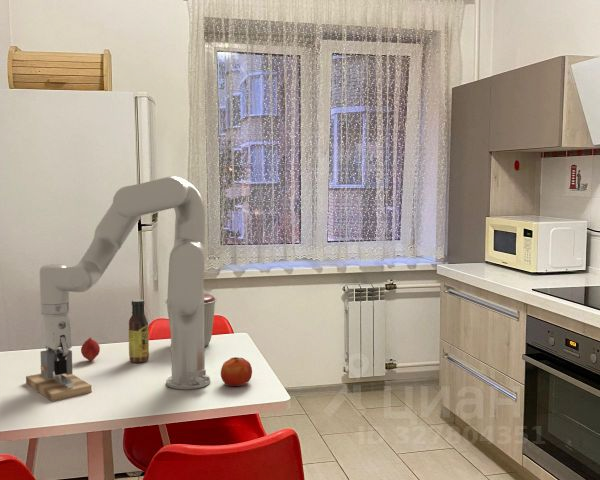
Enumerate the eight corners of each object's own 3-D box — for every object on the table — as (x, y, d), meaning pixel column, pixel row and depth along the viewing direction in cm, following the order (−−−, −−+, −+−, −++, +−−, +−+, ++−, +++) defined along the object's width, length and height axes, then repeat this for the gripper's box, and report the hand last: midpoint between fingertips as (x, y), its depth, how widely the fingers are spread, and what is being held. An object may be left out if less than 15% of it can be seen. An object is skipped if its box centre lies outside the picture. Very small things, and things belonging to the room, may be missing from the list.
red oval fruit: (77, 362, 210) (76, 337, 209) (90, 357, 215) (90, 333, 214) (90, 364, 207) (89, 339, 206) (103, 359, 212) (103, 335, 211)
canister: (200, 336, 243) (199, 280, 241) (227, 346, 229) (226, 287, 227) (156, 344, 232) (155, 285, 229) (181, 355, 218) (180, 293, 215)
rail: (74, 387, 179) (74, 382, 179) (66, 389, 177) (66, 384, 177) (50, 372, 192) (50, 367, 192) (42, 374, 191) (41, 369, 191)
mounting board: (91, 392, 181) (91, 385, 181) (52, 401, 174) (51, 394, 174) (63, 375, 196) (63, 368, 196) (26, 383, 189) (25, 376, 189)
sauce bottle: (146, 363, 208) (144, 302, 206) (126, 363, 208) (125, 302, 206) (151, 357, 215) (149, 298, 213) (132, 357, 215) (130, 298, 213)
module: (72, 373, 185) (71, 350, 184) (45, 379, 180) (44, 355, 179) (65, 369, 189) (64, 347, 188) (39, 374, 184) (38, 351, 183)
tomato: (223, 390, 183) (222, 363, 182) (218, 380, 191) (218, 354, 191) (255, 388, 185) (255, 360, 184) (249, 378, 194) (249, 352, 193)
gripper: (80, 311, 179) (82, 376, 181) (56, 302, 191) (58, 362, 193) (53, 315, 174) (55, 381, 176) (30, 305, 186) (32, 367, 188)
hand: (56, 370), depth 184 cm, fingers closed on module, 5 cm apart
